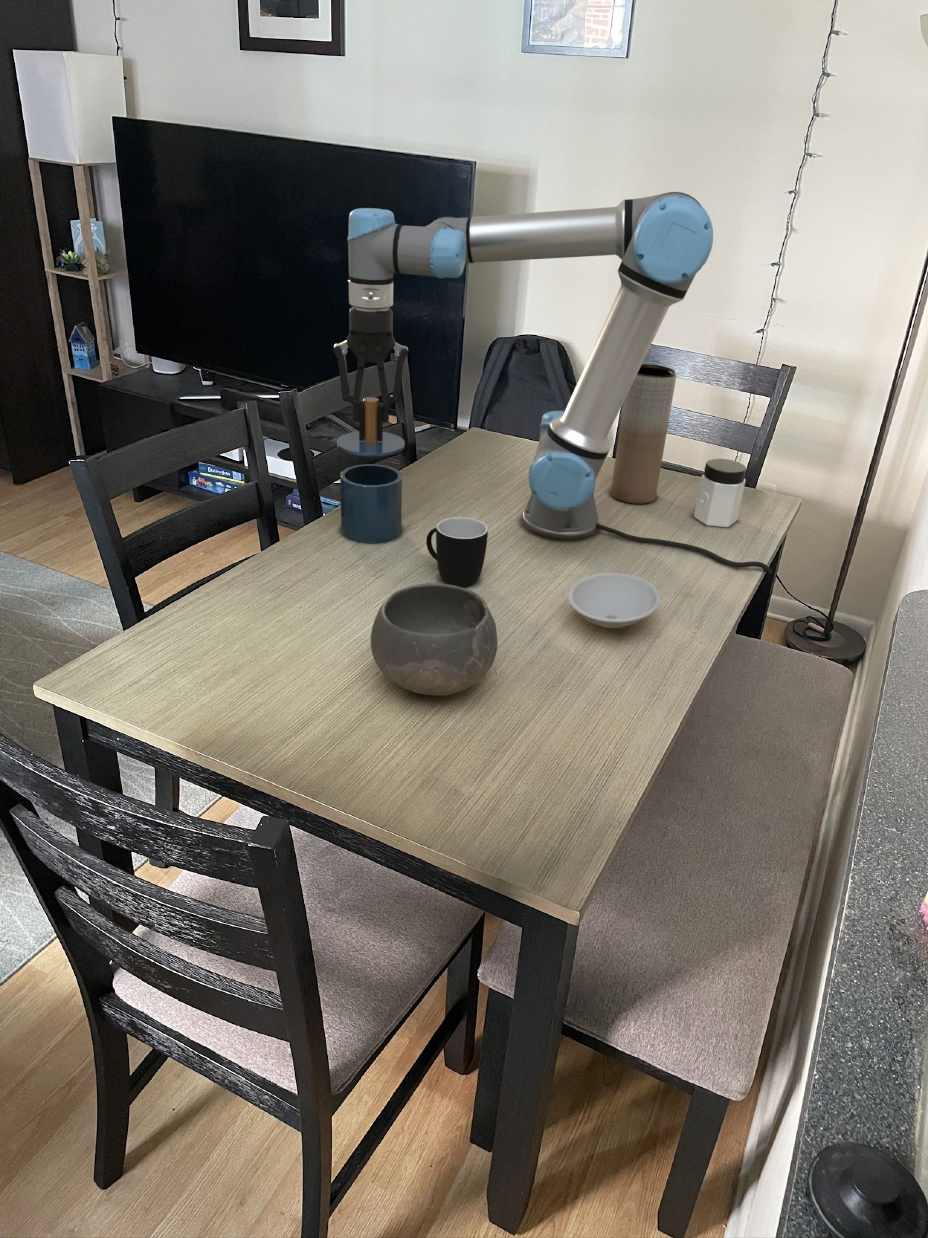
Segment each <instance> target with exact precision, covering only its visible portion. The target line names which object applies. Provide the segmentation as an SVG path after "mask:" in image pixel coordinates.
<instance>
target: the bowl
mask: <svg viewBox="0 0 928 1238" xmlns="http://www.w3.org/2000/svg"><path fill="white" fill-rule="evenodd" d="M498 644H499V641H498V633H497V625H496V621H495V619H494V616H493V615H492V613H491V611H490V609H489V606H488V604H487V602H486V600H485V599H484V598H483V597H481V596H480V595H479V594H478V593H476V592H475V591H472V590H470V589H467V588H466V587H459V586H454V585H449V584H446V583H440V582H438V583H437V582H435V583H434V582H426V583H419V584H414V585H408V586H406V587H403V588H401V589H398V590H397V591H395V592H393V593H392V594H390V595H389V596H388V597H387V598H386V599H385V600H384V601H383V603H382V604H381V605H380V607H379V609H378V611H377V613H376V616H375V617H374V620H373V624H372V627H371V632H370V649H371V654H372V658H373V660H374V663H375V664H376V666H377V668H378V670H379V671H380V672H381V674H382V675H384V677H386V678H387V680H389V681H390V682H391V683H393V684H394V685H396V686H397V687H400V688H402V689H404V690H407V691H410V692H413V693H416V694H421V695H427V696H449V695H454V694H457V693H460V692H462V691H465V690H467V689H469V688H471V687H473V686H474V685H476V684H477V683H479V682H480V681H481V680H482V679H483V678H484V677H485V676H486V675H487V674H488V672H489V671H490V669H491V668H492V666H493V664H494V662H495V659H496V656H497V652H498V646H499V645H498Z"/></svg>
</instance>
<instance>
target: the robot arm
mask: <svg viewBox="0 0 928 1238" xmlns="http://www.w3.org/2000/svg"><path fill="white" fill-rule="evenodd" d="M347 235H348V236H347V248H348V249H347V251H348V253H347V254H348V304H349V305H350V306H351V307H350V308H349V309H348V324H349V325H348V327H349V328H348V329H349V330H348V331H349V333H348V335H347V337H346V340H344V341H342V342H339V343H338V342H336V343H335V344H334V345H333V353H334V355H335V357H336V359H337V363H338V372H339V380H340V388H341V397H342V400H343V402H346V403H347V402H348V403H350V404H351V405H352V421H353V422H355V423H358V431H359V441H363V439H364V434H363V401H360V400H361V393H362V387H363V378H364V372H365V365H366V364H368V363H372V364H373V363H374V364H376V367H377V368H376V369H377V374H378V381H379V389H380V396H381V402H380V401H379V407H378V441H382V439H383V432H384V430H383V427H384V426H383V425H384V424H385V423H386V424H387V423H389V421H390V406H392V404H397V403H399V402H400V395H401V387H402V380H403V379H402V378H403V371H404V370H403V369H404V363H405V361H406V359H407V357H408V353H409V347H408V346H407V345H402V344H399V343H398V342H396V338H395V336H394V333H393V331H394V330H393V329H394V328H393V327H394V325H393V324H394V322H393V319H394V311H393V310H392V308H391V307H393V306H394V274H398V275H401V274H405V275H415V276H425V277H434V278H438V279H444V278H447V279H450V278H451V279H457V278H459V277H461V276H462V274H463V273H464V269H465V265H467V264H475V263H476V264H477V263H493V262H495V263H496V262H511V261H512V262H514V261H529V260H546V259H547V260H549V259H566V258H582V257H583V258H586V257H601V256H602V257H603V256H617V257H618V258H619V259H620V260H621V262H620V264H619V267H618V269H617V274H618V278H619V281H620V287H619V289H618V292H617V293H616V296H615V298H614V301H613V302H612V305H611V308H610V310H609V312H608V314H607V316H606V318H605V321H604V323H603V325H602V327H601V330H600V332H599V334H598V336H597V338H596V341H595V343H594V345H593V347H592V349H591V352H590V354H589V356H588V359H587V361H586V362H585V364H584V365H585V366H584V367H583V370H582V372H581V375H580V377H579V378H578V381H577V383H576V385H575V388H574V390H573V392H572V393H571V396H570V398H569V401H568V403H567V405H566V408H565V410H552V411H547V412H545V413H544V414H543V415H542V417H541V422H540V424H539V428H540V432H539V440H538V445H537V449H536V452H535V454H534V457H533V460H532V463H531V465H530V467H529V470H528V485H529V489H530V491H531V494H530V497H529V499H528V501H527V503H526V505H525V508H524V509H523V513H522V514H523V516H522V524H523V526H524V528H526V529H527V530H528V531H529V532H531V533H533V534H535V535H537V536H539V537H543V538H548V539H552V540H558V541H559V540H560V541H575V540H582V539H586V538H588V537H590V536H593V535H595V534H596V532H597V531H598V530H599V531H600V530H601V531H603V532H606V533H609V534H611V535H615V536H617V537H620V538H623V539H625V540H628V541H633V542H638V543H644V544H652V545H653V544H654V545H661V546H662V545H663V546H667V547H668V546H669V547H673V548H678V549H684V550H688V551H692V552H696V553H699V554H703V555H705V556H707V557H710V558H711V559H713V560H715V561H717V562H719V563H721V564H724V565H726V566H729V567H733V568H750V567H751V568H753V567H755V568H761V569H762V570H763V571H765V572H766V573H767V574H773V570H772V569H771V568H770V566H769V565H767V564H766V563H764V562H761V561H742V562H741V561H740V562H739V561H733V560H730V559H727V558H725V557H723V556H720V555H718V554H716V553H714V552H712V551H710V550H708V549H706V548H702V547H699V546H696V545H692V544H688V543H683V542H678V541H672V540H666V539H660V538H652V537H651V538H650V537H642V536H637V535H632V534H628V533H625V532H622V531H621V530H618V529H614V528H613V527H609V526H606V525H603V524H601V523H600V524H599V515H598V510H597V505H596V499H595V494H594V491H595V489H596V481H597V477H598V475H599V473H600V471H601V469H602V467H603V465H604V463H605V461H606V459H607V457H608V454H609V453H610V451H611V444H610V441H609V438H608V435H609V433H610V431H611V429H612V427H613V425H614V423H615V420H616V418H617V417H618V414H619V413H620V410H621V408H622V407H623V402H624V400H625V398H626V396H627V394H628V391H629V389H630V387H631V385H632V383H633V381H634V379H635V377H636V375H637V373H638V371H639V369H640V367H641V365H642V364H643V362H644V360H645V358H646V356H647V354H648V352H649V350H650V348H651V346H652V344H653V341H654V339H655V337H656V335H657V333H658V331H659V329H660V327H661V325H662V323H663V321H664V319H665V317H666V315H667V313H668V311H669V309H670V307H671V306H673V305H675V304H677V303H680V302H682V301H684V299H685V298H686V295H687V293H688V291H689V289H690V287H691V285H692V283H693V281H694V279H695V276H696V275H697V273H698V272H699V271H700V270H702V268H703V267H704V266H705V264H706V263H707V261H708V259H709V257H710V255H711V252H712V249H713V245H714V228H713V224H712V219H711V218H710V215H709V214H708V212H707V210H706V209H705V208H704V207H703V206H702V204H701V203H700V202H699V200H697V199H696V198H695V197H694V196H693V195H690V194H687V193H685V192H681V191H668V192H664V193H659V194H656V195H650V196H645V197H637V198H629V199H623V200H621V201H620V202H619V204H618V205H616V206H610V207H609V206H608V207H595V208H581V209H580V208H579V209H567V210H553V211H552V210H551V211H550V210H549V211H538V212H537V211H536V212H522V213H509V214H497V215H496V214H495V215H494V214H493V215H485V216H484V215H481V216H472V217H453V216H443V217H438V218H437V219H435V220H433V221H432V222H431V223H429V224H427V225H426V226H419V225H404V224H400V223H396V220H395V215H394V212H392V211H391V210H389V209H383V208H373V207H360V208H356V209H353V210H351V212H350V213H349V216H348V234H347ZM348 348H349V349H350V351H351V352H352V353H353V355H354V357H355V358H356V359H357V366H356V374H355V380H354V386H353V387H354V388H353V393H351V392H350V385H349V375H348V367H347V366H348V365H347V359H346V356H347V354H348ZM393 350H394V357H395V358H396V361H395V367H394V368H395V369H394V376H393V377H394V379H393V388H392V394H389V388H388V387H389V386H388V380H387V374H386V373H387V372H386V366H385V360H386V359H387V358H388V356H389V355H390V353H391V352H392V351H393Z"/></svg>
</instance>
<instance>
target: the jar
mask: <svg viewBox="0 0 928 1238" xmlns="http://www.w3.org/2000/svg"><path fill="white" fill-rule="evenodd" d="M703 471H704V472H703V474H702V475H701V478H700V483H699V488H698V493H697V498H696V503H695V508H694V513H693V517H694V518H695V519H696V520H698V521H700V522H701V523H702V524H704V525H705V526H710V527H719V528H720V527H722V528H730V527H731V526H732V525H733V524H735V523H736V522H737V521H738V516H739V512H740V508H741V505H742V499H743V495H744V491H745V485H746V482H747V481H746V478H745V477H746V473H747V467H746V465H744V464H743V463H741V462H739V461H736V460H733V459H729V458H728V459H726V458H713V459H710V460H707V461H706V463H705V466H704V470H703Z"/></svg>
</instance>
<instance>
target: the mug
mask: <svg viewBox="0 0 928 1238" xmlns="http://www.w3.org/2000/svg"><path fill="white" fill-rule="evenodd" d="M434 534H435V548H436V549H434V547H433V544H432V538H433V535H434ZM488 537H489V528H488V526H487V525H486V523H484V522H483V521H481V520H479V519H476V518H471V517H464V516H455V517H448V518H445V519H442V520H440V521H439V522H438V523H437V524H436V527H434V528H432V529H430V531H429V532H428V534H427V535H426V540H425V542H426V544H425V545H426V549H427V551H428V553H429V554H430V557H432V558H433V560H435V561H436V562H437V568H438V573H439V577H440V579H441V580H442V582H443V583H444V584H449V585H454V586H459V587H462V588H468V587H471V586H473V585H475V584H476V583H477V582H478V581H479V578H480V577H481V574H482V571H483V567H484V563H485V558H486V551H487V545H488Z"/></svg>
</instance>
